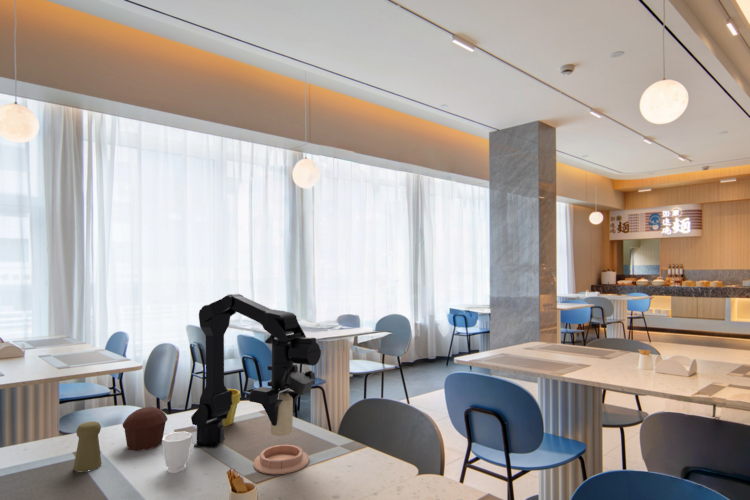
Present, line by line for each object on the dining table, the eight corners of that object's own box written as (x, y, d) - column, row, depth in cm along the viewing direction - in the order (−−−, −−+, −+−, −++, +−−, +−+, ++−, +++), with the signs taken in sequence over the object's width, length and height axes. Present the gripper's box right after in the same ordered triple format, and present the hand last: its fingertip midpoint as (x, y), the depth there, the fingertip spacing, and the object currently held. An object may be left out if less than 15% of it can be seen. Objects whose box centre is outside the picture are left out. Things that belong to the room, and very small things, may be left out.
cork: (107, 464, 114) (108, 420, 115) (85, 474, 109) (86, 428, 109) (89, 460, 116) (91, 417, 117) (67, 470, 111) (68, 425, 111)
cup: (154, 474, 109) (155, 440, 109) (179, 457, 119) (180, 426, 119) (180, 476, 108) (181, 442, 108) (203, 459, 117) (204, 428, 118)
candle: (294, 428, 118) (295, 390, 119) (288, 436, 113) (289, 396, 113) (274, 428, 119) (275, 390, 119) (267, 435, 114) (268, 395, 114)
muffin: (143, 455, 120) (143, 417, 120) (111, 450, 123) (112, 413, 124) (175, 439, 131) (176, 405, 131) (146, 435, 135) (147, 401, 135)
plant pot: (246, 420, 148) (246, 390, 149) (225, 430, 138) (225, 398, 139) (220, 416, 152) (221, 387, 152) (198, 426, 142) (199, 395, 143)
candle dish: (245, 473, 109) (245, 463, 109) (263, 450, 123) (263, 441, 123) (302, 475, 108) (302, 465, 108) (313, 451, 122) (313, 442, 122)
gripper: (284, 372, 105) (283, 439, 104) (327, 358, 122) (327, 416, 121) (248, 367, 110) (247, 431, 109) (294, 354, 126) (293, 410, 126)
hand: (281, 422), depth 116 cm, fingers closed on candle, 5 cm apart
